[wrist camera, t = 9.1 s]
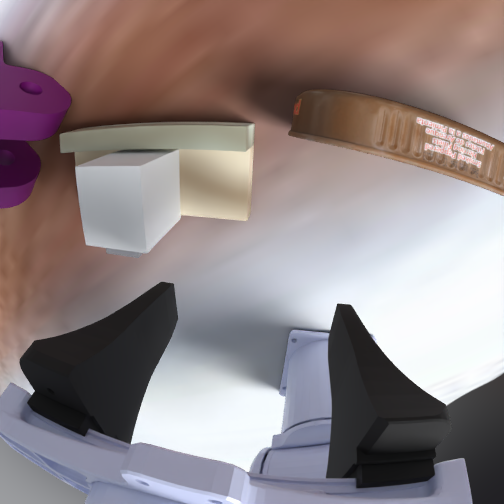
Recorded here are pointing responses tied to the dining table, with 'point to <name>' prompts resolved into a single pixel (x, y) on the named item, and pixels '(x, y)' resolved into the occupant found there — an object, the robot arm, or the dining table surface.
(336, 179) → the dining table surface
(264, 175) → the dining table surface
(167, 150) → the white block
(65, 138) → the rail
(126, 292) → the dining table surface
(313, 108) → the tin
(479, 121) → the dining table surface
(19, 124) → the mounting bracket
